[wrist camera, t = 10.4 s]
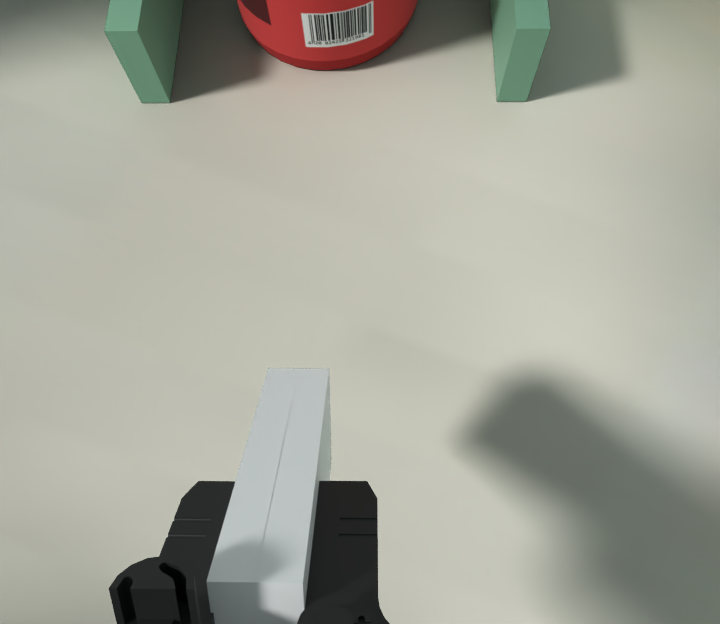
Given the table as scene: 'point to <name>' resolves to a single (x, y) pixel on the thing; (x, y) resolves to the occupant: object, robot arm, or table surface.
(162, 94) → the green c-shaped bracket
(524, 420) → the table surface
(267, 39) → the canned food
